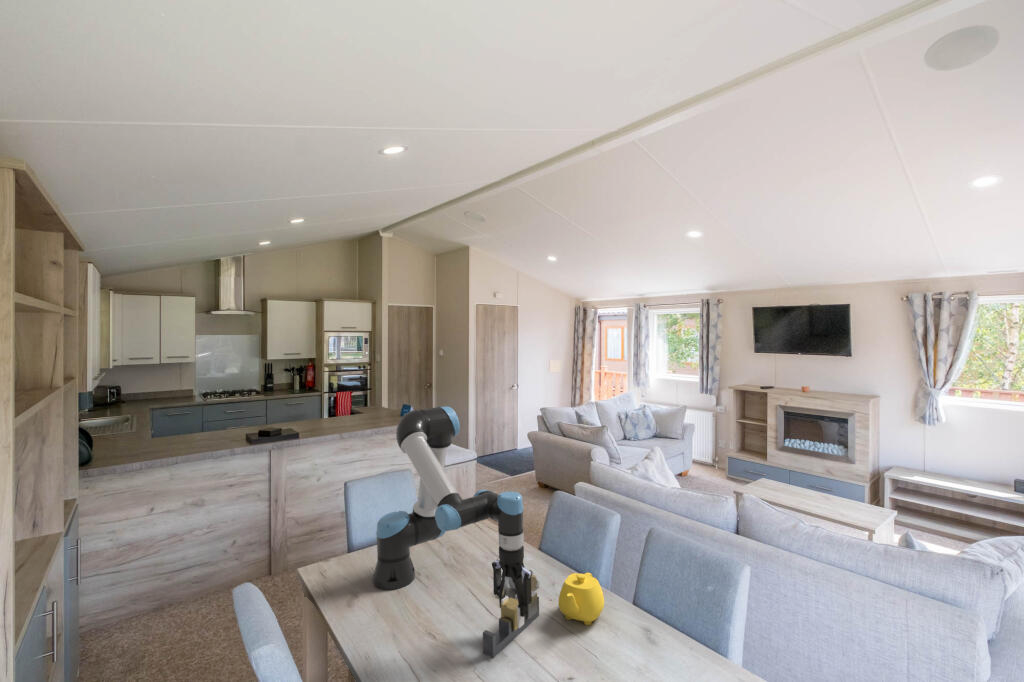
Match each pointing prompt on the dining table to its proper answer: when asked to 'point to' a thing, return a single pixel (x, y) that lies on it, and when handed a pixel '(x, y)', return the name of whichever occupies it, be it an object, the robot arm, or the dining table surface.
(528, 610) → the plain grey cube
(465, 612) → the dining table surface
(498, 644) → the rack rail
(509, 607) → the unfinished wooden cube
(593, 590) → the teapot
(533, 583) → the ceramic mug
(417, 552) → the dining table surface
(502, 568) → the robot arm
